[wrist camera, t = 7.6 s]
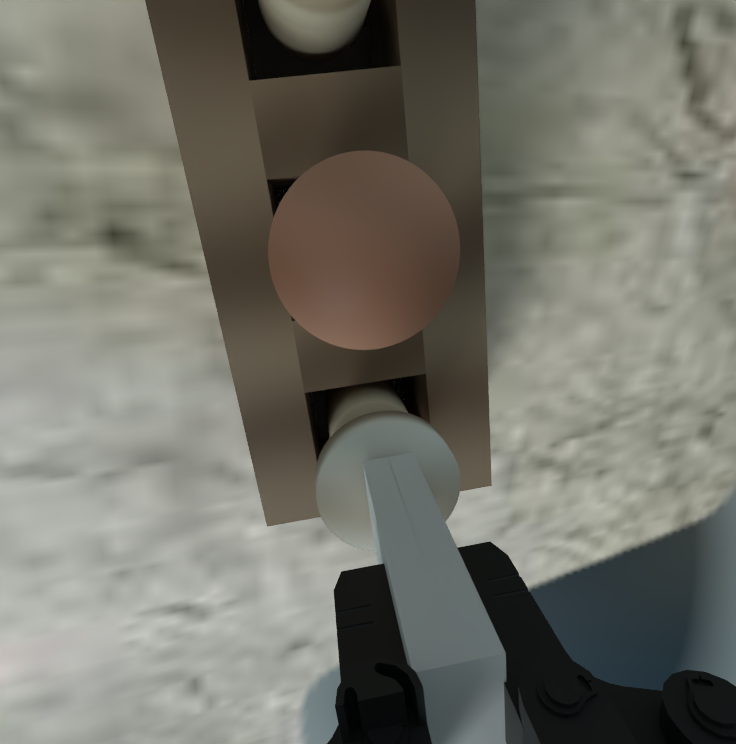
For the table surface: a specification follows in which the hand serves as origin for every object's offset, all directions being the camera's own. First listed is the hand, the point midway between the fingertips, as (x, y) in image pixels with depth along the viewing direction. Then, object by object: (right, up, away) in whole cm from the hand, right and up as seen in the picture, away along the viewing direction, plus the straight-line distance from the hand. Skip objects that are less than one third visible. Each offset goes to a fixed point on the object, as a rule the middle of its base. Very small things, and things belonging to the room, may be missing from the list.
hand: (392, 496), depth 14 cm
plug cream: (-1, +3, +8) cm, 8 cm away
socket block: (-2, +9, +6) cm, 11 cm away
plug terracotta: (-2, +9, +4) cm, 10 cm away
